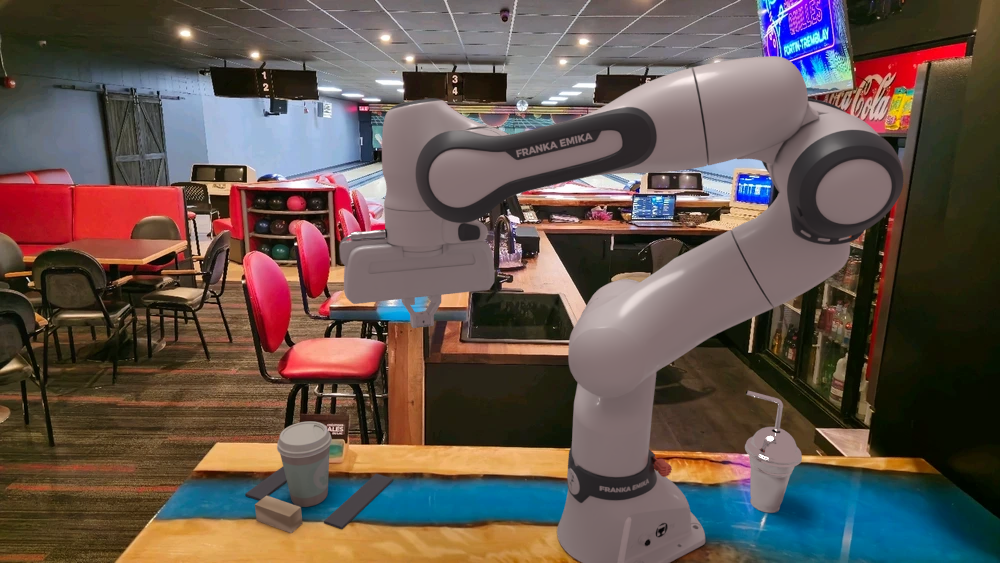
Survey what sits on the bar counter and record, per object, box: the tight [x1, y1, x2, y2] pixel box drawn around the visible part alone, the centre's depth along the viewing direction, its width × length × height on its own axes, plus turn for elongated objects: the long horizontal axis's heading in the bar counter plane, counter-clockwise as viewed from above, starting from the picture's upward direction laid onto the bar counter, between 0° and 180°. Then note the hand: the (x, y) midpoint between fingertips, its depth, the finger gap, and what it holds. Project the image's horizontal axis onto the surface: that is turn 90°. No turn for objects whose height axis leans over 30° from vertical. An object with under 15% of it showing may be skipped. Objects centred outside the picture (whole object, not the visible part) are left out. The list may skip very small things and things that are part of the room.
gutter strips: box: [245, 466, 394, 530], centre depth 106 cm, size 14×20×1 cm
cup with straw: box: [744, 390, 803, 514], centre depth 100 cm, size 8×9×20 cm
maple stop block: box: [254, 495, 303, 534], centre depth 97 cm, size 2×7×3 cm, turn 65°
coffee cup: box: [276, 421, 333, 508], centre depth 102 cm, size 9×8×12 cm
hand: (422, 325), depth 86 cm, fingers closed
